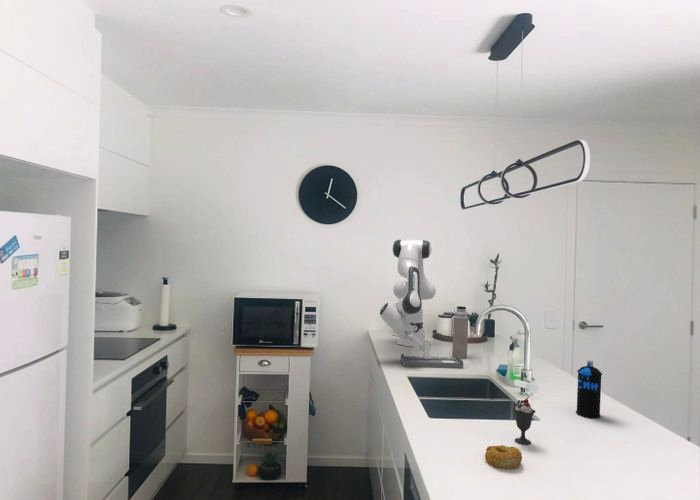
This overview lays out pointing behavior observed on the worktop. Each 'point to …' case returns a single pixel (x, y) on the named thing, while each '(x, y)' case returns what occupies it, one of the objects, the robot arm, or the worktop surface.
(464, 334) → the thermos bottle
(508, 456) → the bagel
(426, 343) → the fader knob
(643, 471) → the worktop surface
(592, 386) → the aerosol can
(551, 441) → the worktop surface
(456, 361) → the console
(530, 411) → the sundae
